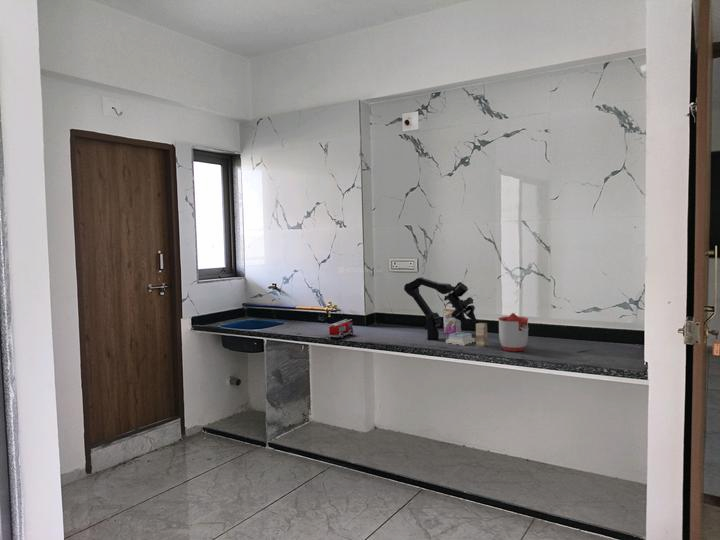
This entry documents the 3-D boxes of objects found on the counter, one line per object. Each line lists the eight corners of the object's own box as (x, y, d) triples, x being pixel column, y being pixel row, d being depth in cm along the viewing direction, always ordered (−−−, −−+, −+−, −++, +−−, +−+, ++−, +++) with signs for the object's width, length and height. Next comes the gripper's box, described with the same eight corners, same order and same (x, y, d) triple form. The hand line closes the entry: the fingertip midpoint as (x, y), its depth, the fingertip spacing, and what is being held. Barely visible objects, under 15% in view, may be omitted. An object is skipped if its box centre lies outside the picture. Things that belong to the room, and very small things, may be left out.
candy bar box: (443, 333, 351) (442, 308, 350) (449, 332, 354) (448, 307, 353) (455, 335, 342) (455, 309, 341) (461, 334, 345) (461, 308, 344)
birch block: (483, 346, 308) (482, 324, 308) (476, 345, 312) (475, 323, 311) (487, 345, 312) (486, 323, 311) (480, 344, 315) (479, 322, 314)
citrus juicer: (515, 354, 286) (515, 316, 285) (492, 349, 301) (492, 312, 300) (537, 350, 293) (537, 313, 292) (513, 345, 309) (513, 310, 307)
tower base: (463, 345, 313) (463, 336, 312) (445, 343, 321) (445, 334, 321) (474, 341, 322) (474, 333, 321) (457, 339, 330) (456, 331, 329)
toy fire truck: (355, 334, 358) (354, 319, 357) (338, 340, 342) (337, 324, 341) (344, 333, 363) (343, 318, 362) (326, 338, 347) (326, 323, 346)
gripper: (456, 294, 311) (473, 316, 305) (472, 291, 325) (489, 312, 319) (444, 306, 317) (460, 328, 311) (460, 303, 331) (476, 323, 325)
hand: (472, 322), depth 316 cm, fingers open, 9 cm apart
